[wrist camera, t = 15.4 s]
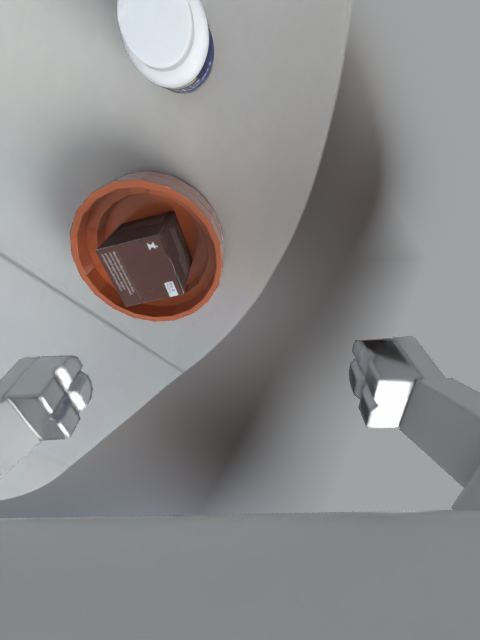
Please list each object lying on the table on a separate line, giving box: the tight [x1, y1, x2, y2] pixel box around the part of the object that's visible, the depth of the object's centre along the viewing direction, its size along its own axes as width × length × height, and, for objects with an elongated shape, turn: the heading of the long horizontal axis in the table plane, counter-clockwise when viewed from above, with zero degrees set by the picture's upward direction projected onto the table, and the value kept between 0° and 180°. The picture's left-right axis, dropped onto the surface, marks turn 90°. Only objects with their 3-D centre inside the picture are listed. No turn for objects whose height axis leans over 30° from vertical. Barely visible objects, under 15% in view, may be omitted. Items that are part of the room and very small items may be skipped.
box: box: [95, 211, 192, 307], centre depth 29 cm, size 6×6×7 cm
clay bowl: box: [70, 171, 224, 321], centre depth 31 cm, size 14×14×5 cm
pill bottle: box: [117, 0, 214, 93], centre depth 20 cm, size 5×5×10 cm
